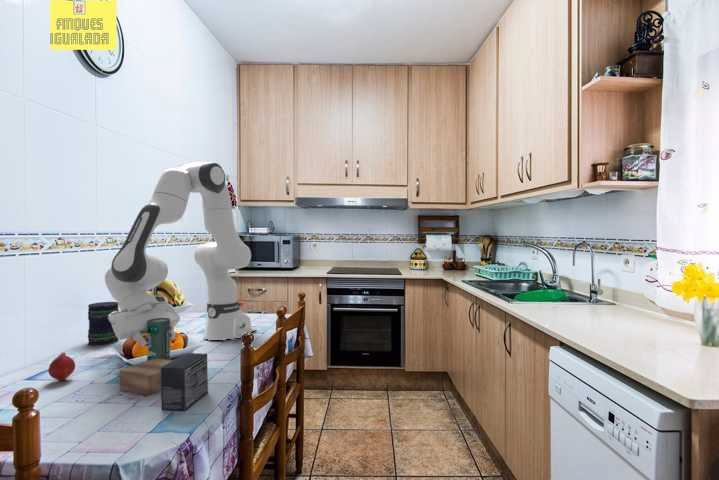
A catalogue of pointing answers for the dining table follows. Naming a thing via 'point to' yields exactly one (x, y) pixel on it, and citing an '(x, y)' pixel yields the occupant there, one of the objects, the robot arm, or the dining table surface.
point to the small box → (184, 382)
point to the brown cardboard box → (143, 377)
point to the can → (158, 338)
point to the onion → (61, 367)
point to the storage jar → (101, 323)
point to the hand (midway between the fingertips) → (160, 341)
